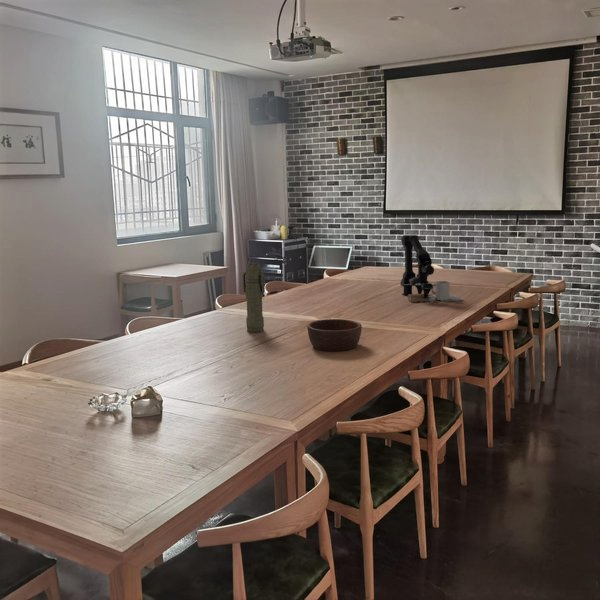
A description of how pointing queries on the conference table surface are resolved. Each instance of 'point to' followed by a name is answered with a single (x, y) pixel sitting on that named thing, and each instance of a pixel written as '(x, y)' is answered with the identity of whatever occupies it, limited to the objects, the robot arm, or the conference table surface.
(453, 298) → the mat
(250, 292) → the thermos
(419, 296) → the panel
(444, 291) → the mug
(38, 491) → the conference table surface
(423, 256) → the robot arm
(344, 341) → the wooden bowl
